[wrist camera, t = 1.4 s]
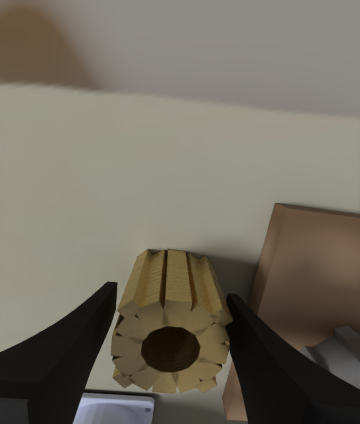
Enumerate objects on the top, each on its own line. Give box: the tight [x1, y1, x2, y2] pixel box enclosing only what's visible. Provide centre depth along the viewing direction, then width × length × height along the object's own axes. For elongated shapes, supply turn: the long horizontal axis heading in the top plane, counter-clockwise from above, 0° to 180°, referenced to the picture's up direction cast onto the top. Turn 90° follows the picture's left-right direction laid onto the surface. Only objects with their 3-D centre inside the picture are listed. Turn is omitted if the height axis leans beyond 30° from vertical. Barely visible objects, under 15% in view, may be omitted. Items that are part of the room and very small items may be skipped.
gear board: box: [222, 203, 360, 421], centre depth 13 cm, size 18×14×4 cm
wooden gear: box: [111, 249, 233, 393], centre depth 12 cm, size 6×6×5 cm
